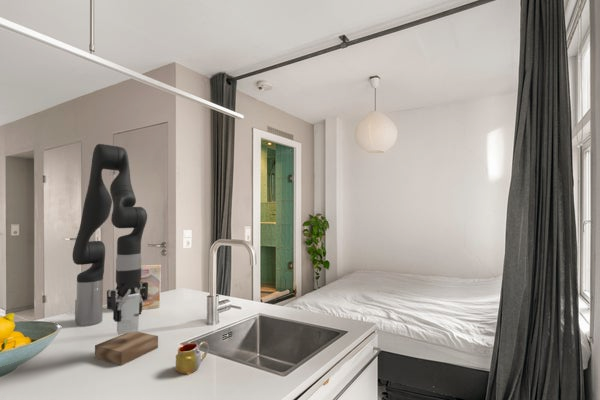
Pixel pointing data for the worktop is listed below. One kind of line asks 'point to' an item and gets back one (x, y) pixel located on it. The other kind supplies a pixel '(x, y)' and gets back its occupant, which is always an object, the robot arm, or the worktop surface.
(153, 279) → the coffeecake box
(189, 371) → the mug
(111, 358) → the base
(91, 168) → the robot arm
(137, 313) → the skincare box
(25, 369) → the worktop surface
